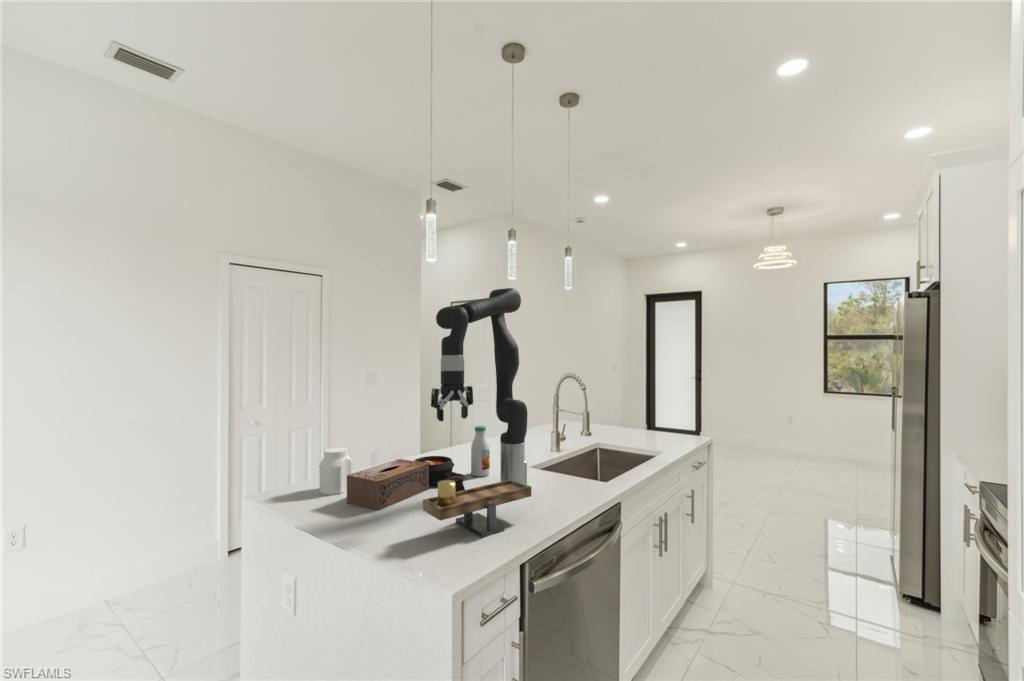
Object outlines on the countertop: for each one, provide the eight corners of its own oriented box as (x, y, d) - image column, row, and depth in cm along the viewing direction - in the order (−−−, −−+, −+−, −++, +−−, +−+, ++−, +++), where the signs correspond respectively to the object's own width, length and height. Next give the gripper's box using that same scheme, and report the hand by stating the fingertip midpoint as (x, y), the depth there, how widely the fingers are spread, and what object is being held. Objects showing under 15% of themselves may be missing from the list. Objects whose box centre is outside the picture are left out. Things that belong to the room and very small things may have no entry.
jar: (335, 496, 166) (335, 454, 166) (314, 493, 170) (314, 452, 170) (356, 486, 177) (356, 447, 177) (336, 484, 180) (336, 445, 180)
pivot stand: (477, 516, 146) (477, 491, 146) (504, 530, 135) (504, 503, 135) (455, 522, 141) (455, 496, 141) (481, 537, 130) (481, 509, 130)
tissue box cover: (399, 484, 181) (399, 458, 181) (428, 490, 174) (428, 463, 174) (346, 504, 158) (346, 475, 159) (377, 511, 151) (377, 481, 151)
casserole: (470, 477, 190) (470, 456, 190) (452, 491, 172) (452, 468, 172) (416, 472, 197) (416, 452, 197) (392, 485, 179) (392, 463, 179)
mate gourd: (462, 505, 156) (461, 475, 156) (440, 504, 158) (440, 475, 158) (468, 498, 163) (467, 470, 163) (447, 497, 165) (447, 469, 165)
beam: (511, 488, 152) (511, 479, 152) (531, 496, 144) (531, 486, 144) (422, 510, 133) (422, 499, 133) (440, 520, 124) (440, 509, 124)
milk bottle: (475, 478, 188) (475, 428, 189) (468, 473, 195) (468, 425, 195) (492, 475, 192) (492, 427, 192) (485, 471, 199) (485, 424, 199)
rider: (449, 499, 135) (449, 479, 135) (459, 504, 131) (458, 483, 131) (434, 503, 132) (434, 482, 132) (443, 508, 128) (443, 486, 128)
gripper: (465, 368, 156) (465, 416, 156) (427, 369, 148) (427, 420, 148) (477, 368, 150) (477, 419, 150) (438, 370, 142) (438, 423, 142)
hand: (452, 419), depth 149 cm, fingers open, 8 cm apart
